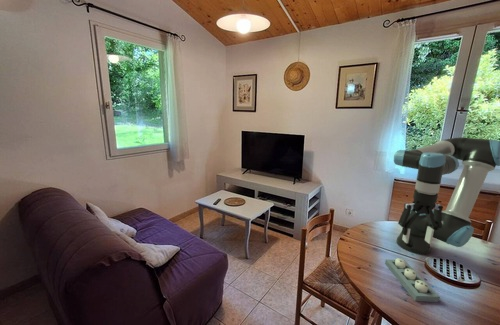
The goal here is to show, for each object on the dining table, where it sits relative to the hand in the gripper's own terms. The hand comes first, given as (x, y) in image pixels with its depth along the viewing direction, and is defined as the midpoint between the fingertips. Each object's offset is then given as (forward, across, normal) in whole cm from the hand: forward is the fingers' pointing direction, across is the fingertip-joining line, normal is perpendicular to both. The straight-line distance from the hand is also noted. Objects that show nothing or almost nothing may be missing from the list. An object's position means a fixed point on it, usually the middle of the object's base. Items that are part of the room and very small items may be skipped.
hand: (416, 241), depth 94 cm
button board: (+19, 0, 0) cm, 19 cm away
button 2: (+18, 0, 0) cm, 18 cm away
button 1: (+18, 0, -7) cm, 19 cm away
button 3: (+18, 0, +7) cm, 19 cm away
